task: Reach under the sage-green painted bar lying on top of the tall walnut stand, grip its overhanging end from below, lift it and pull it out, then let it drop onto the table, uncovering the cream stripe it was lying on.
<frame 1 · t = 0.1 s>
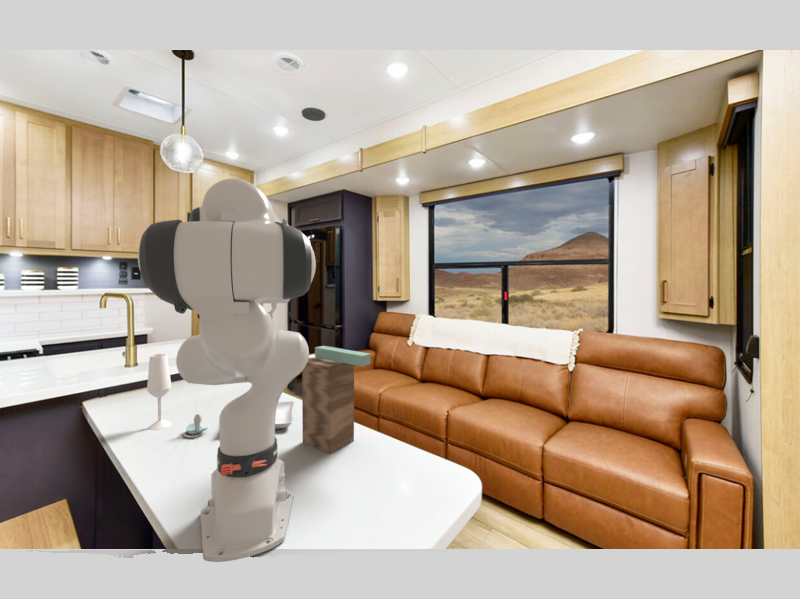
hand: (251, 319, 96), 39 cm above the table, tool pointing down, fingers open, 8 cm apart
bar: (341, 360, 103), point 26 cm above the table, touching stand
stand: (330, 442, 107), on the table
pacifier: (194, 435, 111), on the table
salad plate: (262, 422, 122), on the table
champagne flute: (160, 426, 118), on the table
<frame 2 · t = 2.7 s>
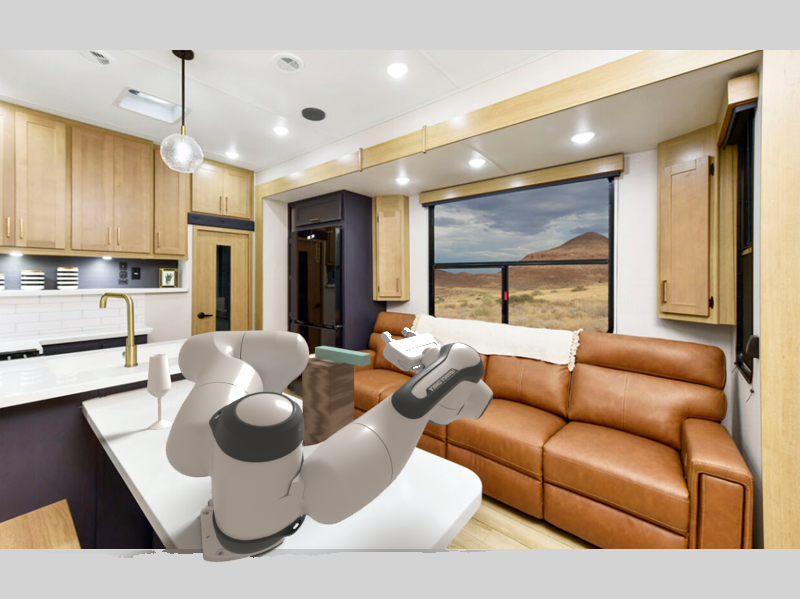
hand: (393, 332, 92), 37 cm above the table, tool pointing upward, fingers open, 8 cm apart
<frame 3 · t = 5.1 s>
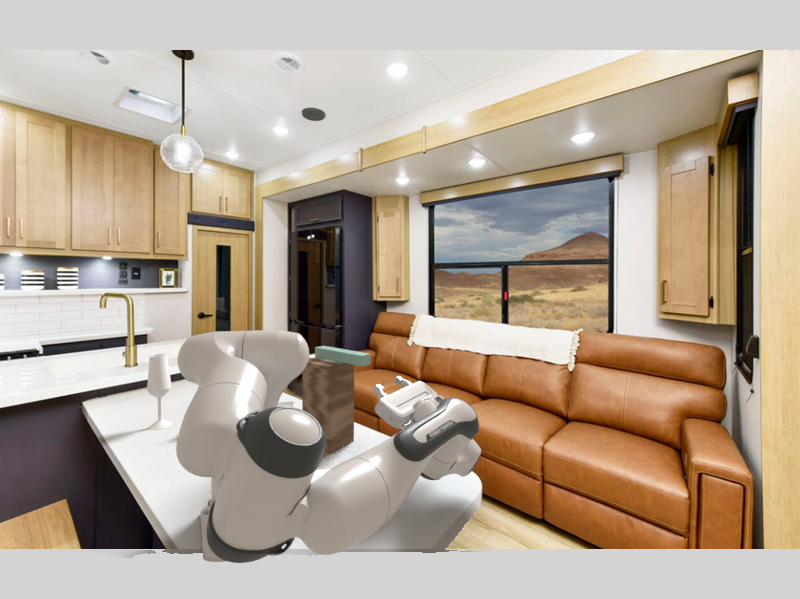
hand: (386, 382, 94), 23 cm above the table, tool pointing upward, fingers open, 8 cm apart
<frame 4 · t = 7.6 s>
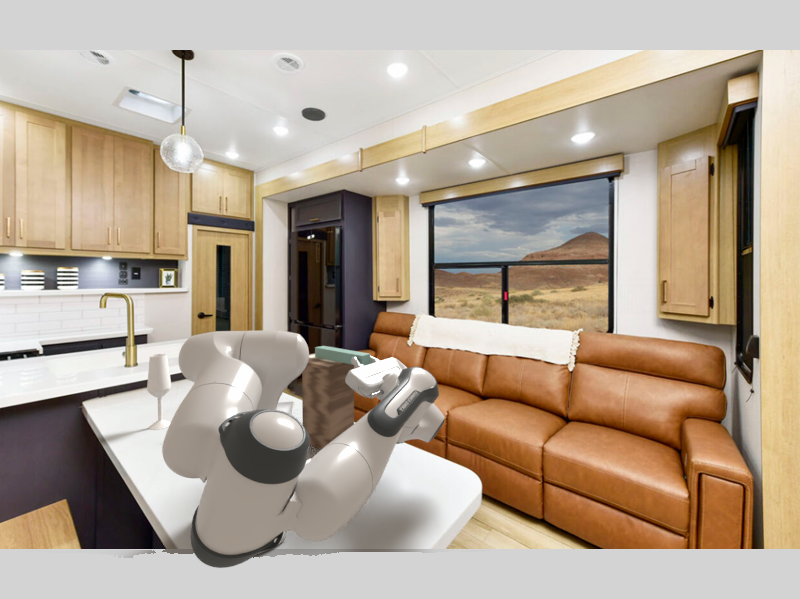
hand: (359, 357, 99), 28 cm above the table, tool pointing upward, fingers closed on bar, 3 cm apart
bar: (341, 360, 103), point 26 cm above the table, touching gripper, stand
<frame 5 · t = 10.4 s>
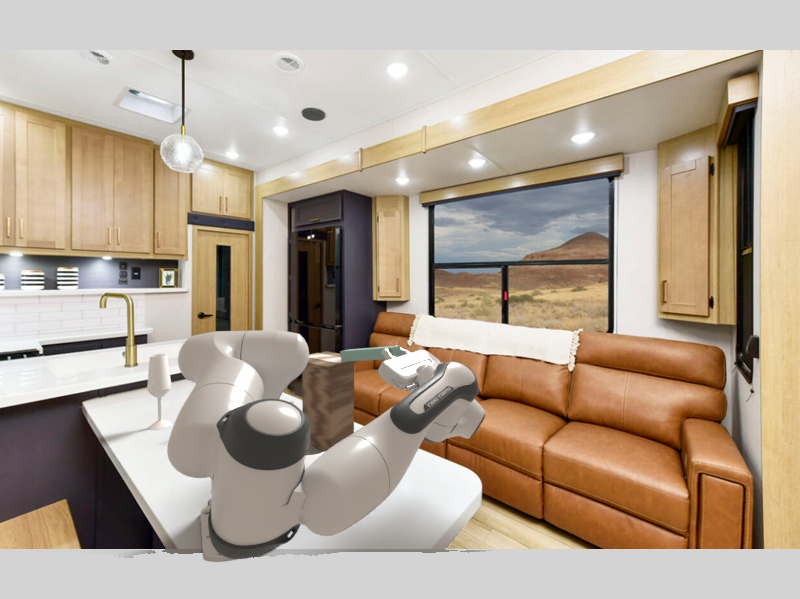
hand: (389, 348, 94), 32 cm above the table, tool pointing upward, fingers closed on bar, 3 cm apart
bar: (370, 359, 97), point 28 cm above the table, tilted 10°, touching gripper
when the fingers open (19 cm above the table, at t = 13.5 s): bar drops 12 cm, on the table.
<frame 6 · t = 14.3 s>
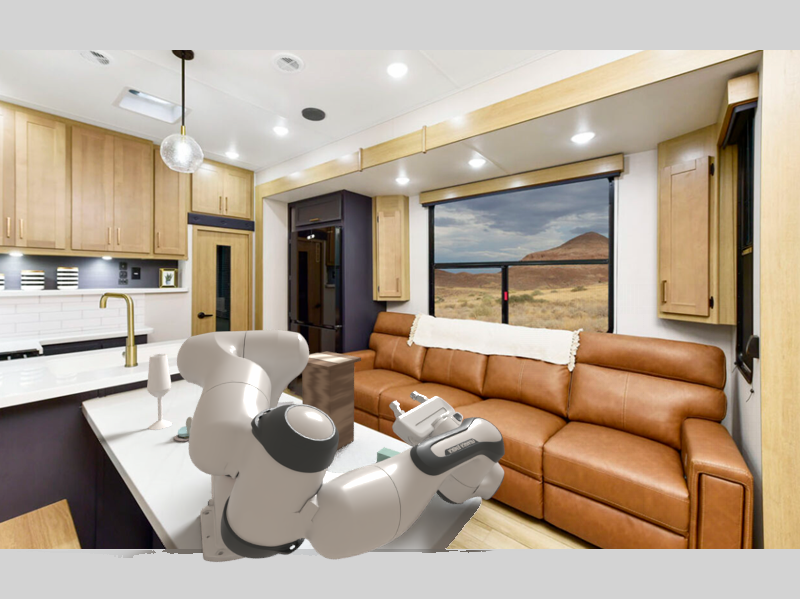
hand: (402, 397, 91), 19 cm above the table, tool pointing upward, fingers open, 8 cm apart
bar: (409, 470, 93), on the table
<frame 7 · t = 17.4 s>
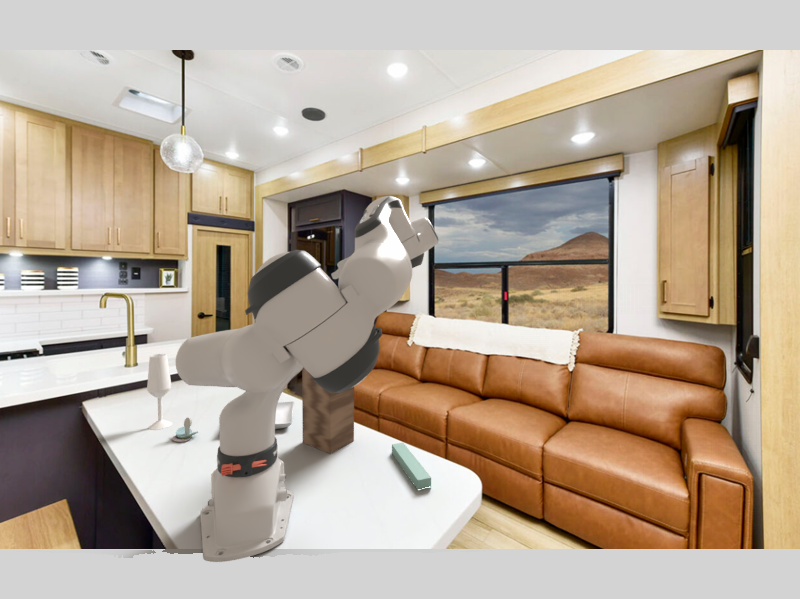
hand: (341, 276, 100), 51 cm above the table, tool tilted 65°, fingers open, 8 cm apart
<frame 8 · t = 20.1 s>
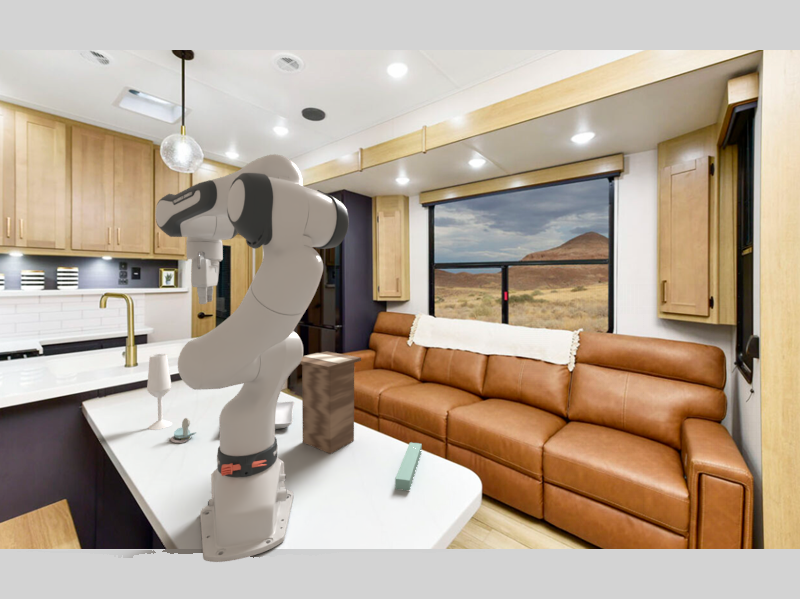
hand: (206, 302, 98), 43 cm above the table, tool pointing down, fingers open, 8 cm apart
at the end: bar touching table; bar on the table; the gripper is holding nothing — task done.
